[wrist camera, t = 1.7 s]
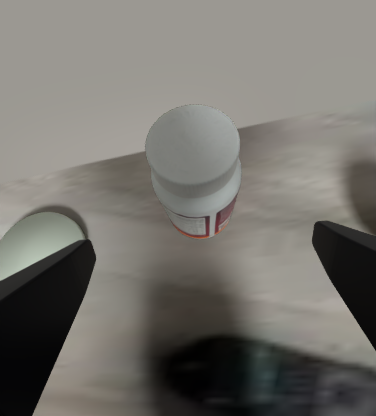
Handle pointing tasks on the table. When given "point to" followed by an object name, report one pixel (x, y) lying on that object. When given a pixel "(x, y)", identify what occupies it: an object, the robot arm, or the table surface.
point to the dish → (36, 240)
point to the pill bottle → (195, 168)
